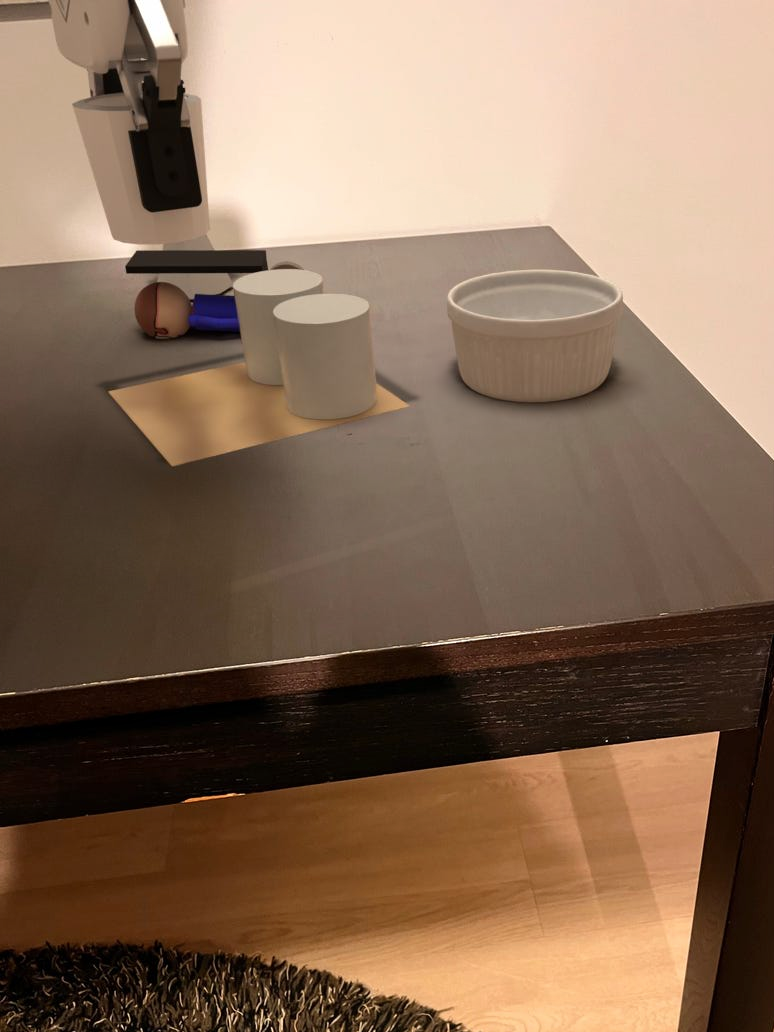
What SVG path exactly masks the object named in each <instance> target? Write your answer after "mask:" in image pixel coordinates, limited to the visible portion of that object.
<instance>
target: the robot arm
mask: <svg viewBox="0 0 774 1032" xmlns="http://www.w3.org/2000/svg"><path fill="white" fill-rule="evenodd" d="M183 2H184V1H183V0H48V4H49V10H50V16H51V22H52V26H53V31H54V36H55V42H56V46H57V48H58V52H59V53H60V54H61V55H62V57H64V58H65V59H66V60H68V61H69V62H70V63H72V64H74V65H76V66H78V67H81V68H83V69H85V70H86V71H87V77H88V88H89V94H90V97H95V96H100V95H107V94H115V93H124V94H125V98H126V101H127V105H128V108H129V111H130V115H131V118H132V122H133V125H134V128H135V130H130V131H128V134H129V139H130V144H131V149H132V155H133V160H134V165H135V170H136V176H137V181H138V186H139V191H140V196H141V202H142V205H143V207H144V208H145V209H146V210H147V211H149V212H161V211H169V210H176V209H184V208H192V207H197V206H199V205H200V204H201V203H202V195H201V189H200V183H199V176H198V170H197V164H196V157H195V151H194V145H193V139H192V132H191V126H190V115H189V111H188V107H187V104H186V100H185V97H184V94H186V87H184V84H185V82H184V80H183V79H181V78H182V67H183V66H182V65H183V63H184V62H185V60H186V59H187V57H188V55H189V47H188V46H189V45H188V35H187V25H186V16H185V8H184V3H183ZM140 92H143V96H142V98H141V94H140Z"/></svg>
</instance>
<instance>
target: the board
mask: <svg viewBox="0 0 774 1032" xmlns="http://www.w3.org/2000/svg"><path fill="white" fill-rule="evenodd" d="M376 388H377V402H376V404H375V405H374V406H373V407H372V408H371V409H369V410H368V411H366V412H363V413H361V414H358V415H355V416H352V417H347V418H341V419H332V420H315V419H307V418H303V417H299V416H296V415H294V414H292V413H291V412H289V410H288V409H287V407H286V402H285V395H284V388H283V386H273V385H265V384H260V383H257V382H254V381H252V380H251V379H250V378H249V377H248V376H247V371H246V365H245V361H244V362H243V361H242V362H238V363H235V364H229V365H225V366H224V365H223V366H219V367H215V368H210V369H206V370H201V371H197V372H192V373H188V374H183V375H178V376H174V377H169V378H164V379H160V380H154V381H150V382H146V383H141V384H137V385H136V384H135V385H131V386H127V387H123V388H118V389H113V390H109V391H107V392H108V394H109V395H110V396H111V398H113V400H114V401H115V402H116V403H117V404H118V406H119V407H120V408H121V409H122V410H123V411H124V413H125V414H126V415H127V416H128V417H129V418H130V419H131V420H132V422H133V423H134V424H135V425H136V426H137V428H138V429H139V430H140V431H141V432H142V433H143V435H144V436H145V437H146V438H147V440H148V441H149V442H150V443H151V444H152V445H153V447H155V448H156V450H157V451H158V452H159V453H160V454H161V455H162V457H163V458H164V459H165V460H166V461H167V463H168V464H169V465H170V466H171V467H176V466H180V465H185V464H188V463H192V462H196V461H200V460H205V459H208V458H211V457H216V456H219V455H224V454H228V453H231V452H236V451H240V450H244V449H248V448H251V447H255V446H259V445H263V444H267V443H271V442H275V441H279V440H282V439H288V438H290V437H295V436H299V435H303V434H307V433H311V432H314V431H318V430H322V429H326V428H330V427H334V426H338V425H342V424H347V423H349V422H354V421H358V420H362V419H366V418H369V417H370V418H371V417H374V416H377V415H381V414H385V413H389V412H394V411H397V410H402V409H406V408H409V407H411V405H409V404H408V403H407V402H405V401H404V400H402V399H401V398H399V396H396V395H394V394H393V393H392V392H390V391H388V390H387V389H385V387H383V386H381V385H379V383H377V382H376Z"/></svg>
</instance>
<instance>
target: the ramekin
mask: <svg viewBox="0 0 774 1032" xmlns="http://www.w3.org/2000/svg"><path fill="white" fill-rule="evenodd" d="M446 298H447V299H446V313H447V317H448V318H449V320H450V321H451V328H452V336H453V342H454V343H453V344H454V348H455V349H454V350H455V355H456V360H457V365H458V366H457V367H458V371H459V374H460V377H461V379H462V381H463V382H464V384H465V385H466V386H467V387H469V388H470V389H471V390H473V391H474V392H476V393H478V394H480V395H483V396H486V397H489V398H492V399H497V400H501V401H509V402H517V403H550V402H557V401H558V402H559V401H564V400H565V401H566V400H569V399H574V398H578V397H581V396H583V395H586V394H589V393H591V392H592V391H594V390H596V389H598V387H600V386H601V385H602V384H603V383H604V382H605V380H606V379H607V377H608V375H609V372H610V369H611V365H612V360H613V355H614V349H615V344H616V338H617V330H618V323H619V318H620V317H621V315H622V314H623V308H624V295H623V291H622V289H621V288H620V287H619V286H618V285H617V284H616V283H614V282H612V281H611V280H609V279H605V278H603V277H600V276H597V275H594V274H589V273H584V272H583V273H582V272H577V271H569V270H560V269H559V270H558V269H524V270H523V269H521V270H507V271H501V272H494V273H488V274H483V275H478V276H475V277H472V278H468V279H467V280H464V281H462V282H460V283H458V284H455V285H454V286H452V288H451V289H450V290H449V292H448V293H447V297H446Z"/></svg>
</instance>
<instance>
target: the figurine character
mask: <svg viewBox="0 0 774 1032" xmlns="http://www.w3.org/2000/svg"><path fill="white" fill-rule="evenodd" d="M267 258H268V257H267V250H266V249H262V250H261V249H232V250H231V249H227V250H225V249H224V250H223V249H217V250H216V249H214V250H162V249H160V250H157V249H155V250H152V249H151V250H149V249H147V250H141V249H140V250H139V249H137V250H136V251H135V252H134V254H132V256H131V258H130V259H129V260H128V261H127V263H126V264H125V266H124V268H125V274H127V275H128V274H129V275H131V274H132V275H134V274H135V275H136V274H137V275H138V274H139V275H140V274H141V275H144V274H148V275H149V274H151V275H152V274H156V275H158V274H172V273H227V274H252V273H256V272H261V271H268V270H277V269H298V270H305V269H304V268H303V267H302V266H301V265H299V263H295V262H293V261H289V260H288V261H287V260H286V261H281V262H278V263H275V264H274V265H273V266H272V267H271V268H270V269H269V267H268V266H269V265H268V259H267ZM134 316H135V319H136V322H137V323H138V326H139V327H140V328H141V329H142V331H143V332H144V333H146V335H148V336H150V337H151V338H153V339H158V340H168V339H175V338H179V337H181V336H184V335H185V334H186V333H187V332H188V331H189V329H190V327H194V329H195V331H209V332H210V331H212V332H235V333H237V332H238V333H240V328H239V322H238V316H237V309H236V303H235V297H234V295H227V294H226V295H225V294H215V295H209V294H195V296H194V299H193V302H191V299H189V298H188V296H187V295H186V294H185V292H184V291H183V290H181V289H180V288H179V287H177V286H175V285H173V284H171V283H167V282H157V281H156V282H155V281H154V282H152V283H149V284H147V285H146V286H145V287H143V288H142V289H141V290H140V291H139V292H138V294H137V295H136V298H135V301H134Z"/></svg>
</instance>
